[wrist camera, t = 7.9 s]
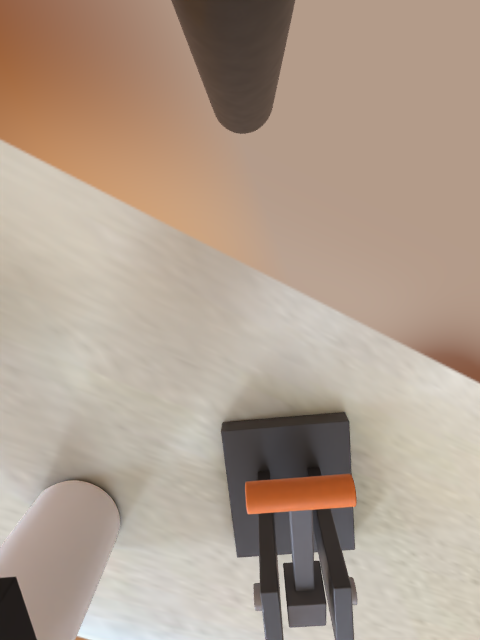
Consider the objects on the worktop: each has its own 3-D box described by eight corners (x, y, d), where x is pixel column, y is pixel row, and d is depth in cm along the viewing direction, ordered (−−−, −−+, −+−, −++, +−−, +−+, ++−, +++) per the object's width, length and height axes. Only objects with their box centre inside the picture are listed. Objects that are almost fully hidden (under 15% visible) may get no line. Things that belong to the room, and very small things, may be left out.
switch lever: (244, 466, 21) (245, 512, 19) (347, 458, 21) (359, 504, 19) (263, 586, 28) (265, 629, 26) (341, 581, 27) (350, 624, 25)
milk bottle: (40, 468, 37) (-196, 756, 17) (129, 487, 37) (-6, 793, 18) (30, 541, 39) (-192, 875, 19) (115, 559, 39) (-20, 907, 20)
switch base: (222, 422, 35) (206, 538, 23) (345, 412, 35) (397, 524, 22) (237, 544, 38) (231, 705, 26) (351, 536, 38) (400, 697, 25)
